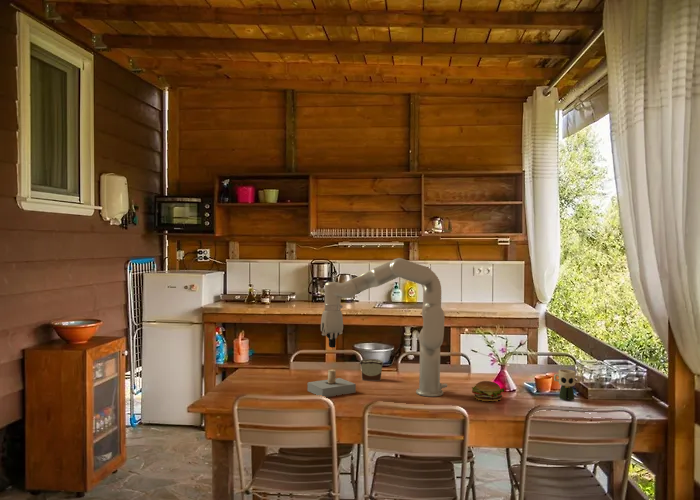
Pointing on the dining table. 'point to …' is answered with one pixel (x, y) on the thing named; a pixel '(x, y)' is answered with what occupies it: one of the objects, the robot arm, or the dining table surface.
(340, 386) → the socket board
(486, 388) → the food
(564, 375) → the character mug
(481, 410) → the dining table surface
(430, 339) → the robot arm
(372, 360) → the food container
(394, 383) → the dining table surface
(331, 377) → the birch peg
